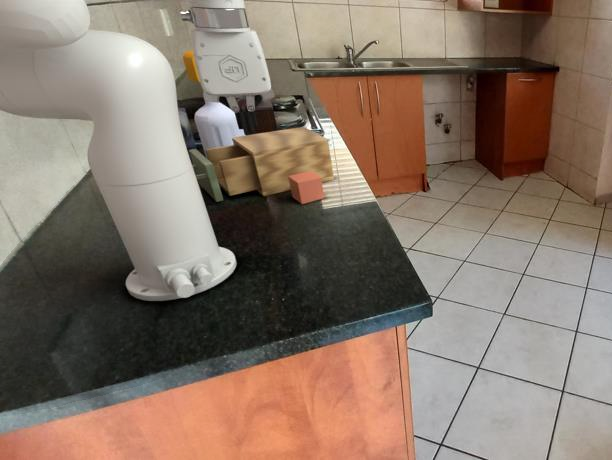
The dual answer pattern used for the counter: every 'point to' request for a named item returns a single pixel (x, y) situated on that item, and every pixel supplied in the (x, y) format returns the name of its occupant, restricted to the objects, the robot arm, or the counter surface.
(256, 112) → the pepper mill
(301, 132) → the cabinet
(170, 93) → the robot arm
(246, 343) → the counter surface
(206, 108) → the soap bottle
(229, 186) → the drawer
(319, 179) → the block
